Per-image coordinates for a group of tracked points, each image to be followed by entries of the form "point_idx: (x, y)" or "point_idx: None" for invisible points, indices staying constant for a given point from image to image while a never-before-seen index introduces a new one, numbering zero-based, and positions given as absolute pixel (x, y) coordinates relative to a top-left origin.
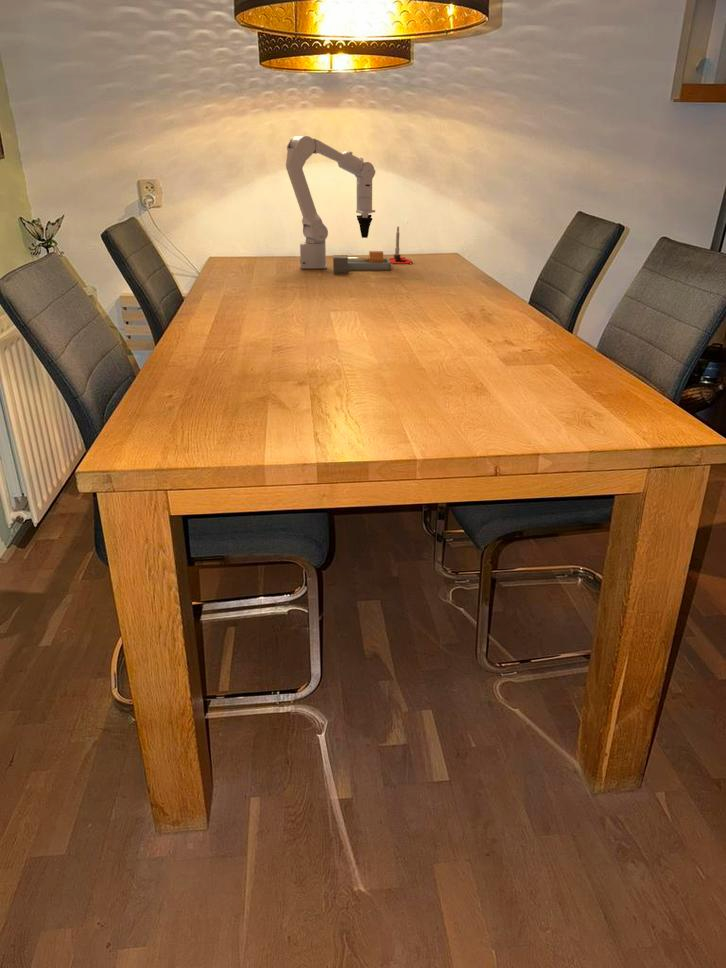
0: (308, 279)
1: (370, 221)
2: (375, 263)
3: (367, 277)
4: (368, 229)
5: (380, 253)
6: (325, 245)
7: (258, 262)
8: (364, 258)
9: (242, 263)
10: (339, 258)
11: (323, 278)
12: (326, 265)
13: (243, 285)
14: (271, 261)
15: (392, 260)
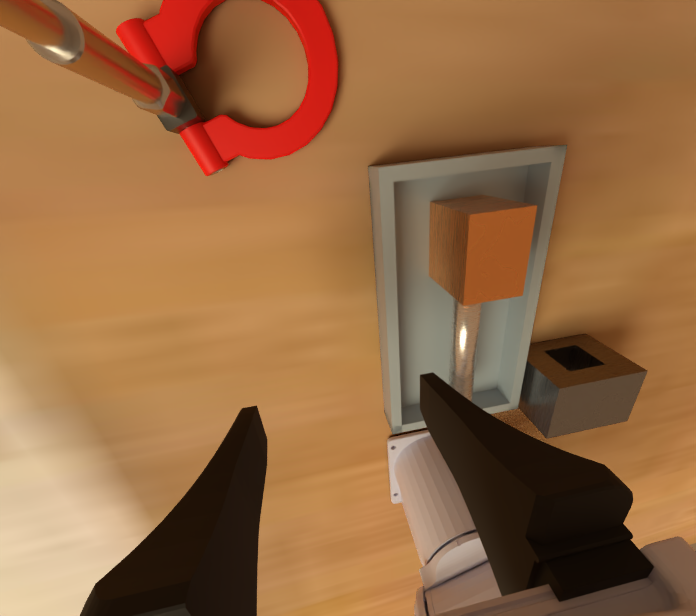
0: (642, 420)
1: (586, 465)
2: (547, 238)
3: (683, 248)
4: (484, 412)
5: (530, 224)
6: (468, 512)
7: (334, 594)
8: (480, 310)
9: (356, 610)
10: (633, 399)
11: (642, 388)
12: (427, 434)
13: (662, 511)
14: (310, 580)
15: (260, 142)
